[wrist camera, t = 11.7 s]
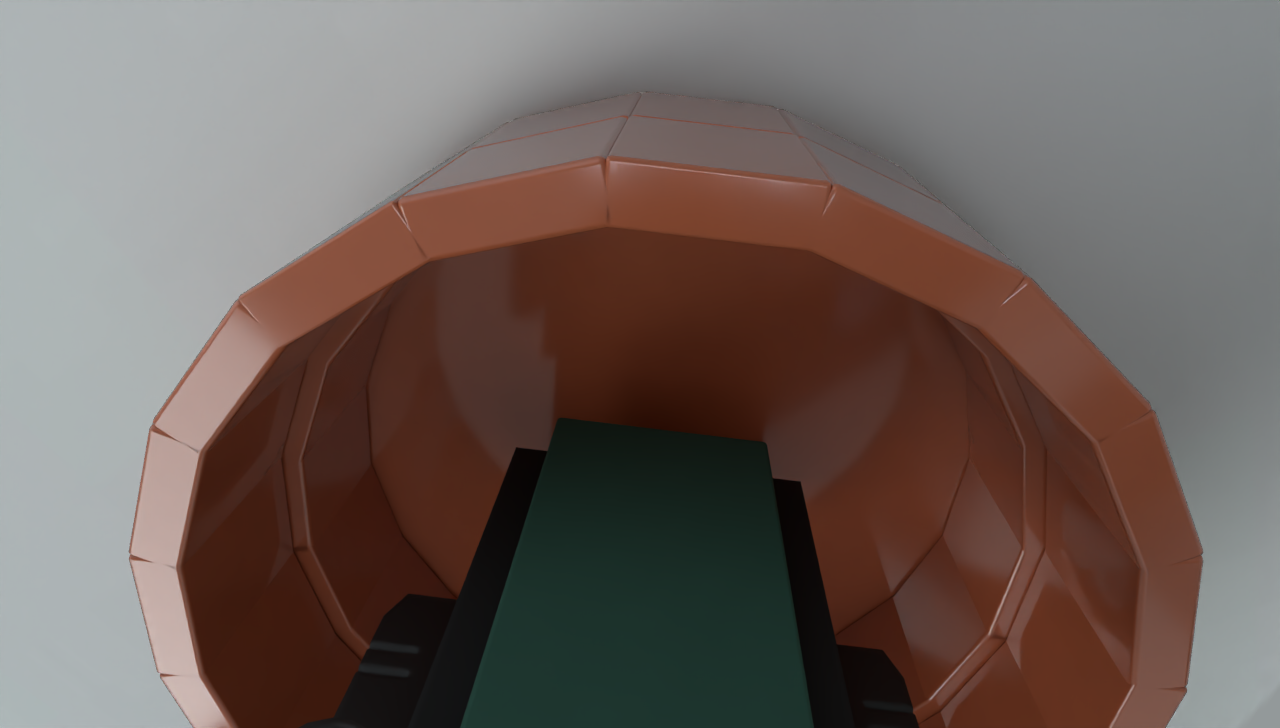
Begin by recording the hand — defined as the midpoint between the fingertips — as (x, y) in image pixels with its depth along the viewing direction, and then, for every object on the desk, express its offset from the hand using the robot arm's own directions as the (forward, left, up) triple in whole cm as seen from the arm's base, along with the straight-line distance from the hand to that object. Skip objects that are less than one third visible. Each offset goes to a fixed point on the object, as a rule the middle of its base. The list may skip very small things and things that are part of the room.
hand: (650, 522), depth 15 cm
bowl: (0, 0, -3) cm, 3 cm away
